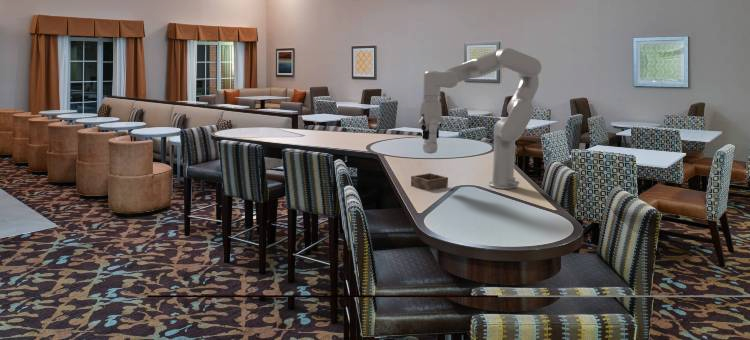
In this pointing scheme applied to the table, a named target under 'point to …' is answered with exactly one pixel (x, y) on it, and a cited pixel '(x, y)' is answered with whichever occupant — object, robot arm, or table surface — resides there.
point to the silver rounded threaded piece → (431, 137)
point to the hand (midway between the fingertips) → (430, 138)
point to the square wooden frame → (429, 181)
